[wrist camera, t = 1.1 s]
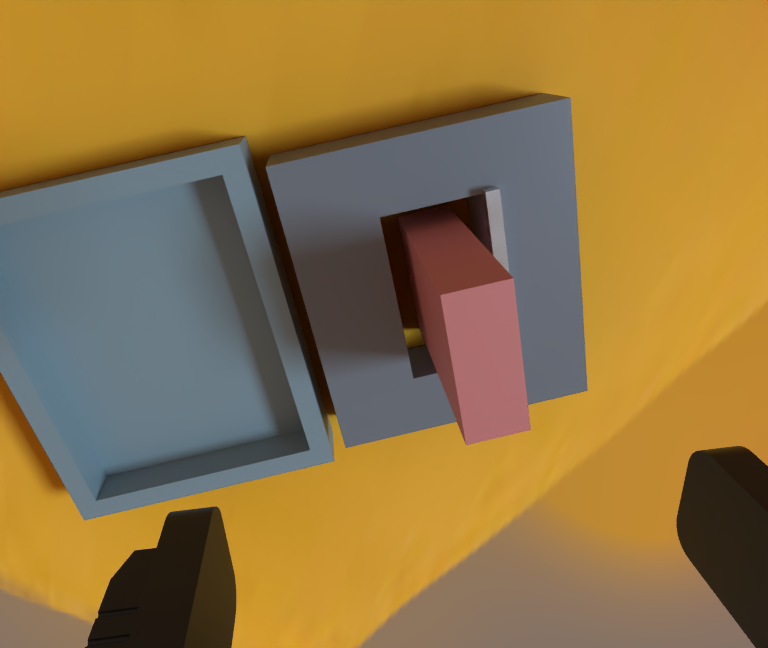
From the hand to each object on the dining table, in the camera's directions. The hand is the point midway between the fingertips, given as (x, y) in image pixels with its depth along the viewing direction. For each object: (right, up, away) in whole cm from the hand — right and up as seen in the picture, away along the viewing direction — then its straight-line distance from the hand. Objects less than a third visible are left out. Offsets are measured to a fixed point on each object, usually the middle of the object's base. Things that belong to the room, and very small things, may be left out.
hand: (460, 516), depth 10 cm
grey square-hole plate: (+1, +6, +19) cm, 20 cm away
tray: (-12, +3, +19) cm, 22 cm away
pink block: (+1, +6, +19) cm, 20 cm away
